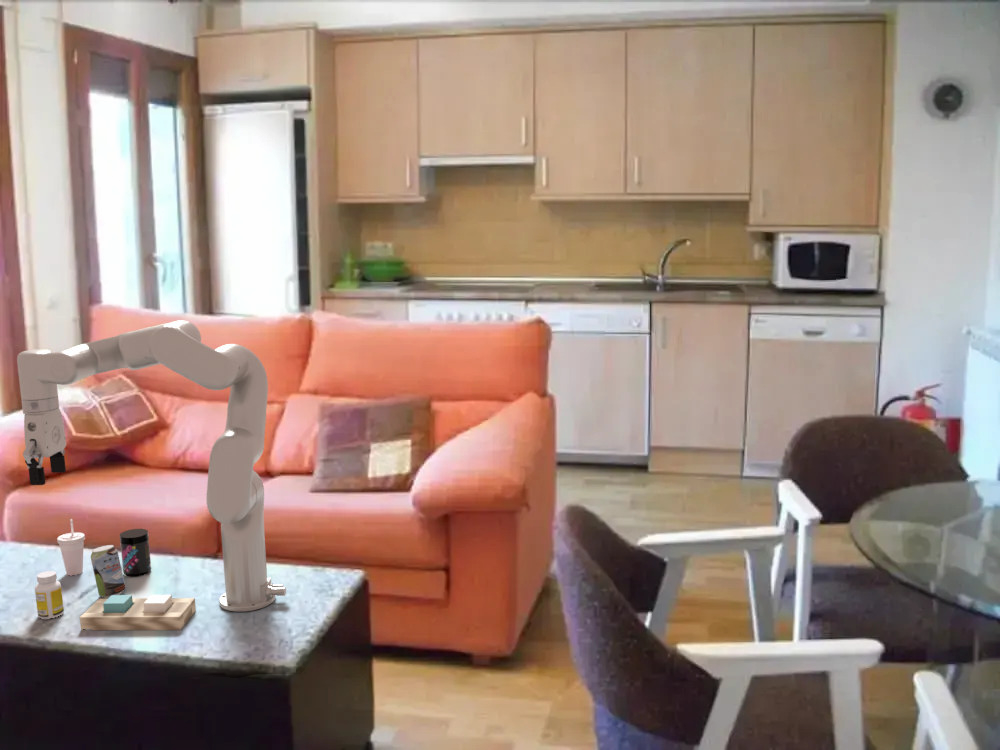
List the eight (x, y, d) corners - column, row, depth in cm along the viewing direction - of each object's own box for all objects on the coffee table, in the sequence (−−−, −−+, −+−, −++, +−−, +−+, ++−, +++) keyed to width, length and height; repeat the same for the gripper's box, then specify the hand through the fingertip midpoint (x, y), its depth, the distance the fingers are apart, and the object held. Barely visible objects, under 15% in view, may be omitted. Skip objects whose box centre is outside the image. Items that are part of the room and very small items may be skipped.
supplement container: (122, 570, 251) (118, 531, 249) (150, 565, 253) (146, 527, 252) (124, 579, 245) (120, 539, 243) (153, 574, 247) (149, 535, 246)
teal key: (133, 607, 223) (132, 594, 223) (124, 616, 219) (123, 603, 218) (112, 607, 223) (111, 595, 223) (104, 616, 219) (103, 603, 218)
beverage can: (116, 601, 232) (112, 552, 229) (88, 599, 233) (83, 551, 231) (131, 590, 238) (127, 543, 235) (104, 589, 239) (99, 541, 237)
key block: (195, 610, 226) (194, 598, 225) (180, 629, 216) (179, 616, 215) (100, 611, 226) (99, 598, 226) (81, 630, 217) (79, 617, 216)
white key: (172, 607, 223) (171, 594, 222) (165, 615, 218) (164, 603, 218) (152, 607, 223) (151, 594, 222) (144, 616, 218) (143, 603, 218)
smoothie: (93, 571, 251) (88, 518, 248) (71, 579, 245) (65, 525, 243) (78, 566, 254) (72, 514, 251) (55, 574, 249) (49, 521, 246)
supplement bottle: (64, 608, 228) (60, 568, 226) (63, 617, 223) (59, 576, 221) (38, 612, 226) (34, 571, 225) (37, 621, 221) (32, 580, 220)
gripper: (38, 413, 214) (46, 489, 217) (74, 396, 231) (81, 467, 234) (3, 413, 214) (12, 489, 217) (43, 397, 231) (50, 468, 234)
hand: (48, 478), depth 226 cm, fingers open, 9 cm apart
